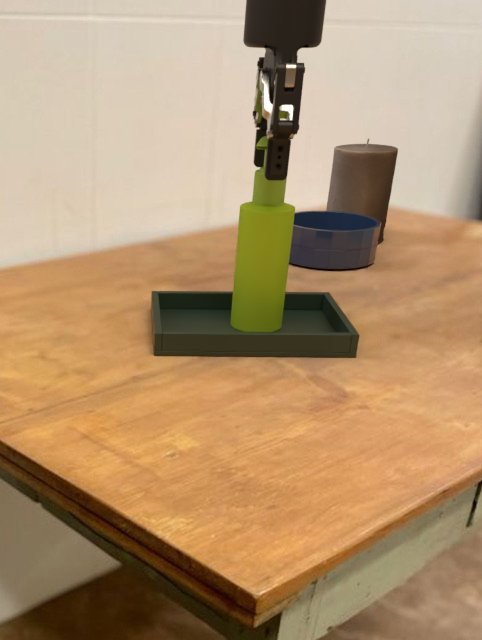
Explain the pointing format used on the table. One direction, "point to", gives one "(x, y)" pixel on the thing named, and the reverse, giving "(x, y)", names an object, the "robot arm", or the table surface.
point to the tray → (223, 340)
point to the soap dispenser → (262, 255)
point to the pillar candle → (362, 180)
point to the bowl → (333, 239)
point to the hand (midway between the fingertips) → (269, 173)
